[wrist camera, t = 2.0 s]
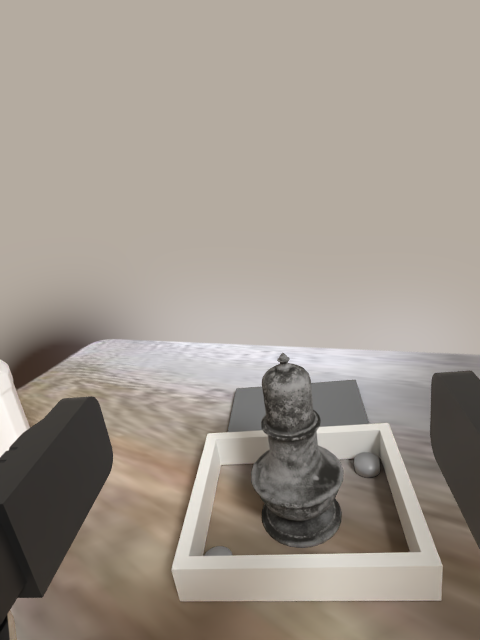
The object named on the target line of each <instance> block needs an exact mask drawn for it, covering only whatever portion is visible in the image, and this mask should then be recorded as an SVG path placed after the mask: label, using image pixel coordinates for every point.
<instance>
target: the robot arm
mask: <svg viewBox="0 0 480 640" xmlns="http://www.w3.org/2000/svg"><path fill="white" fill-rule="evenodd" d="M430 437H431V444H432V449H433V453H434V456H435V459H436V461H437V463H438V465H439V467H440V470H441V472H442V474H443V476H444V478H445V480H446V482H447V484H448V486H449V488H450V490H451V492H452V494H453V496H454V498H455V500H456V502H457V504H458V506H459V508H460V510H461V512H462V514H463V516H464V518H465V520H466V522H467V524H468V526H469V528H470V531H471V533H472V535H473V537H474V539H475V541H476V543H477V545H478V547H479V549H480V380H479V378H478V377H477V376H476V375H475V374H474V373H473V372H472V371H458V372H444V373H435V374H434V375H433V377H432V383H431V421H430ZM112 463H113V451H112V446H111V443H110V439H109V436H108V432H107V429H106V425H105V422H104V418H103V415H102V411H101V408H100V405H99V402H98V401H97V399H96V398H95V397H78V398H65V399H62V400H60V401H59V402H58V403H57V405H56V406H55V407H54V408H53V409H52V410H51V411H50V412H49V413H48V415H47V416H46V417H45V418H44V419H43V420H41V421H40V422H38V423H37V424H35V425H34V426H32V427H31V428H29V429H28V430H26V431H25V432H23V433H22V434H21V435H20V436H19V438H18V439H17V440H16V441H15V442H14V443H13V444H12V445H11V446H10V447H9V451H6V452H5V453H4V454H3V455H2V456H1V457H0V640H17V638H16V629H15V621H14V617H13V615H12V613H11V611H10V609H11V607H12V606H13V604H14V602H15V601H16V599H17V598H42V597H43V596H44V594H45V592H46V590H47V588H48V586H49V585H50V583H51V581H52V579H53V577H54V575H55V574H56V572H57V570H58V568H59V566H60V564H61V562H62V561H63V559H64V557H65V555H66V553H67V551H68V550H69V548H70V546H71V544H72V542H73V540H74V539H75V537H76V535H77V533H78V531H79V529H80V527H81V526H82V524H83V522H84V520H85V518H86V516H87V515H88V513H89V511H90V509H91V507H92V505H93V503H94V502H95V500H96V498H97V496H98V494H99V492H100V491H101V489H102V487H103V485H104V483H105V481H106V480H107V478H108V476H109V474H110V471H111V468H112Z"/></svg>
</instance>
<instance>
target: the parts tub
mask: <svg viewBox="0 0 480 640" xmlns="http://www.w3.org/2000/svg"><path fill="white" fill-rule="evenodd" d="M317 441H318V446H321V447H323V448H325V449H327V450H329V451H330V452H331V453H333V454H334V455H335V456H336V457H337V458H338V459H354V467H355V471H356V473H357V474H358V475H360V476H362V477H367V478H370V477H375V476H377V475H378V474H379V472H380V460H379V458H378V457H381V460H382V464H383V467H384V470H385V473H386V476H387V480H388V483H389V486H390V489H391V493H392V496H393V499H394V502H395V505H396V509H397V512H398V515H399V518H400V522H401V525H402V528H403V531H404V534H405V538H406V541H407V544H408V547H409V550H410V552H402V553H347V554H291V555H235V556H232V552H231V551H230V550H229V549H228V548H226V547H224V546H216V547H213V548H211V549H210V550H208V551H207V552H206V553H205V555H204V556H203V553H204V548H205V543H206V538H207V533H208V528H209V523H210V518H211V513H212V508H213V503H214V498H215V493H216V488H217V483H218V478H219V473H220V468H221V465H231V464H252V463H255V462H256V461H257V459H258V458H259V457H260V456H261V455H262V454H264V453H265V452H266V451H268V450H270V449H269V442H268V435H267V434H265V433H264V432H263V430H259V431H242V432H225V433H208V435H207V438H206V442H205V446H204V449H203V453H202V457H201V461H200V464H199V468H198V472H197V476H196V479H195V483H194V487H193V491H192V494H191V498H190V502H189V505H188V509H187V513H186V517H185V520H184V524H183V528H182V532H181V535H180V539H179V543H178V547H177V550H176V554H175V558H174V561H173V565H172V569H171V570H172V574H173V577H174V581H175V585H176V588H177V592H178V596H179V599H180V601H441V595H442V570H443V565H442V563H441V560H440V557H439V555H438V552H437V550H436V547H435V544H434V542H433V539H432V536H431V534H430V531H429V528H428V526H427V523H426V520H425V518H424V515H423V513H422V510H421V507H420V505H419V502H418V499H417V497H416V494H415V491H414V489H413V486H412V484H411V481H410V478H409V476H408V473H407V470H406V468H405V465H404V462H403V460H402V457H401V454H400V452H399V449H398V447H397V444H396V441H395V439H394V436H393V433H392V431H391V428H390V425H389V423H378V424H361V425H344V426H327V427H319V428H318V430H317Z"/></svg>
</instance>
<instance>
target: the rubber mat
mask: <svg viewBox="0 0 480 640" xmlns="http://www.w3.org/2000/svg"><path fill="white" fill-rule="evenodd" d="M311 389H312V400H313V410H315V411H316V412H317V413H318V414H319V416H320V419H321V423H320V427H327V426H344V425H361V424H369V421H368V418H367V415H366V412H365V408H364V405H363V402H362V399H361V395H360V392H359V389H358V386H357V382H356V380H346V381H332V382H319V383H311ZM265 415H266V411H265V404H264V396H263V389H262V387H250V388H237V389H236V393H235V398H234V403H233V408H232V413H231V418H230V423H229V428H228V432H242V431H259V430H262V428H261V421H262V418H263V417H264V416H265Z"/></svg>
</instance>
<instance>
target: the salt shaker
mask: <svg viewBox="0 0 480 640" xmlns="http://www.w3.org/2000/svg"><path fill="white" fill-rule="evenodd" d="M277 361H278V362H280V364H279V365H276V366H274V367H272V368H271V369H269V370H268V371H267V372H266V373H265V375H264V376H263V379H262V389H263V396H264V404H265V411H266V415H265V416H264V417H263V418H262V421H261V428H262V430H263V432H264V433H265V434H267V435H268V442H269V449H270V450H268V451H266V452H265V453H264V454H262V455H261V456H260V457H259V458H258V459H257V461H256V462H255V464H254V465H253V468H252V471H251V482H252V484H253V487H254V489H255V491H256V492H257V493H258V494H259V495H260V497H261V499H262V501H263V502H264V503H265V504H264V507H263V510H262V522H263V524H264V527H265V529H266V531H267V532H268V533H269V534H270V536H271V537H272V538H274V539H275V540H277V541H278V542H280V543H282V544H285V545H287V546H290V547H298V548H305V547H313V546H316V545H319V544H322V543H324V542H325V541H327V540H328V539H330V538H331V537H332V536H333V535H334V534H335V533H336V532H337V530H338V528H339V526H340V523H341V509H340V506H339V503H338V502H337V500H336V499H335V497H336V495H337V492H338V490H339V488H340V486H341V484H342V481H343V468H342V465H341V462H340V461H339V460H338V458H337V457H336V456H335V455H334V454H333V453H331V452H330V451H329V450H327V449H325V448H323V447H321V446H318V441H317V430H318V428H319V427H320V423H321V419H320V416H319V414H318V413H317V412H316V411H315V410H313V400H312V389H311V380H310V377H309V374H308V372H307V371H306V370H305V369H304V368H302V367H301V366H298V365H295V364H290V363H288V361H289V357H287V356H286V355H285V354H284V353H282V354H281V355H280V357H279V358H278V360H277Z"/></svg>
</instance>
